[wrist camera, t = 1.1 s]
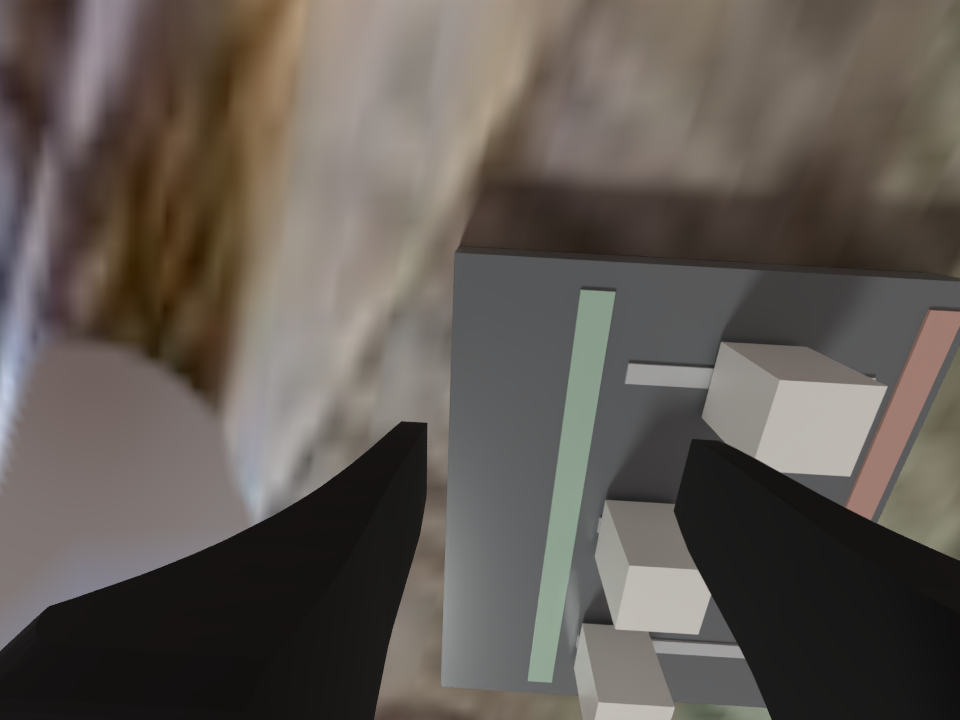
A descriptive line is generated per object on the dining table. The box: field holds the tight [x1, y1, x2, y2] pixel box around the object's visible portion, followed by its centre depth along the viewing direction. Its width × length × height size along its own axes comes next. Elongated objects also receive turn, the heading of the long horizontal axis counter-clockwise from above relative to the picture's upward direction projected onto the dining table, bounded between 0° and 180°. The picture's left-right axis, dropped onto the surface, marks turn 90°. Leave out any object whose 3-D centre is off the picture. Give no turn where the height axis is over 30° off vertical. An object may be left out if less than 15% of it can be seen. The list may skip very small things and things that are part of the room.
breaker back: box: [574, 623, 675, 720], centre depth 19 cm, size 3×3×3 cm
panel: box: [441, 246, 960, 708], centre depth 20 cm, size 18×22×2 cm
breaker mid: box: [595, 500, 711, 635], centre depth 17 cm, size 3×3×3 cm
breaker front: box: [702, 342, 888, 477], centre depth 14 cm, size 3×3×3 cm
